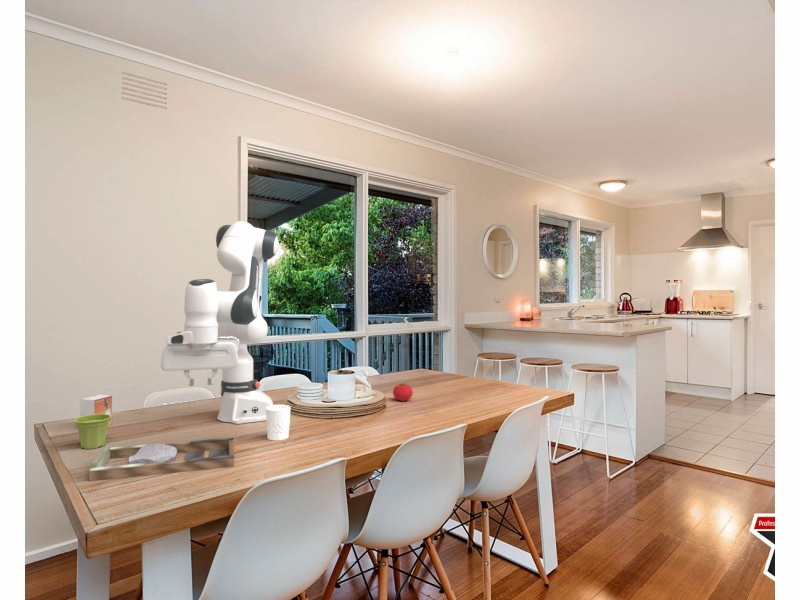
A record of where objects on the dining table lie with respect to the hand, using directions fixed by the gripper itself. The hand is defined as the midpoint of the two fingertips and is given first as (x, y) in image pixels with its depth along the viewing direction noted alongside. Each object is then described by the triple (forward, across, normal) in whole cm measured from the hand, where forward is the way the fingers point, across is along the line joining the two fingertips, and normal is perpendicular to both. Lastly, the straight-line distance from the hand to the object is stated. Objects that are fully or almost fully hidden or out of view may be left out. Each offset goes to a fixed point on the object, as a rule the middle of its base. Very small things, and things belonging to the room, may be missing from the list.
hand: (200, 385), depth 136 cm
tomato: (+21, -81, -53) cm, 99 cm away
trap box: (+21, +8, 0) cm, 23 cm away
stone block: (+22, +12, 0) cm, 24 cm away
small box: (+21, +35, -43) cm, 59 cm away
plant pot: (+21, +31, -21) cm, 43 cm away
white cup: (+21, -23, -14) cm, 34 cm away
